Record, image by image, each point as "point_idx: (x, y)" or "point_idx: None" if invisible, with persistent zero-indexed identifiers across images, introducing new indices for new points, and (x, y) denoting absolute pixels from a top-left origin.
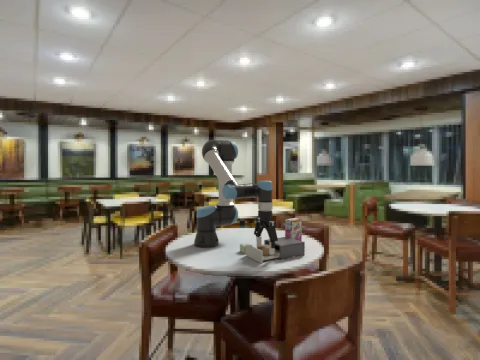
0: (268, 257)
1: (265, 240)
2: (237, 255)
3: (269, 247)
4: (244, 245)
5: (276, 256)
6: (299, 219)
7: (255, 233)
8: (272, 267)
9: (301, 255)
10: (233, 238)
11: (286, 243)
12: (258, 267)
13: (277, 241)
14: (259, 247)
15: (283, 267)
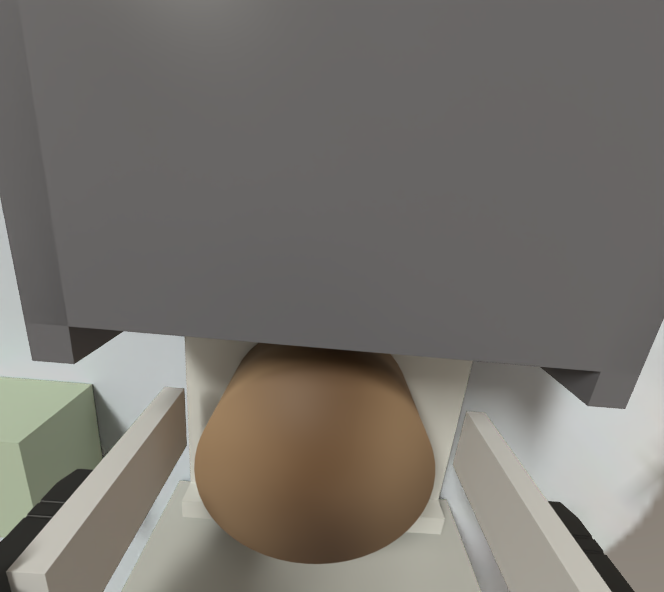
0: (439, 449)
1: (76, 359)
2: (135, 535)
3: (495, 553)
4: (4, 523)
5: (472, 362)
6: None
7: None
8: (577, 500)
9: None
10: None
11: (599, 158)
12: (495, 567)
13: (310, 207)
14: (308, 554)
15: (651, 439)
